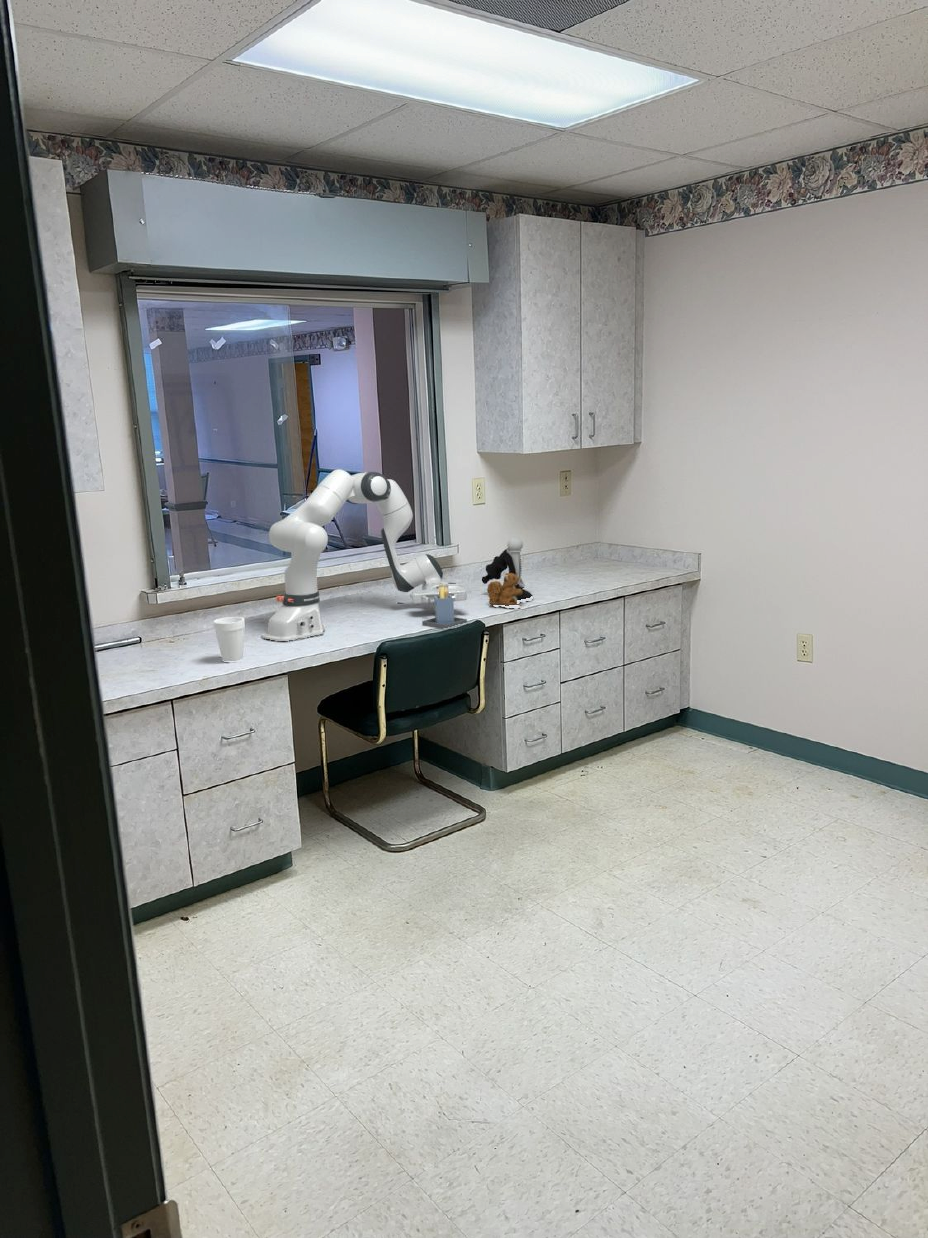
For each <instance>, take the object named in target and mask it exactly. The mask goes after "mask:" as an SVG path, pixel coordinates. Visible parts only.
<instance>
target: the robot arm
mask: <svg viewBox="0 0 928 1238" xmlns="http://www.w3.org/2000/svg"><path fill="white" fill-rule="evenodd" d="M346 502H347V503H348V504H353V505H357V504H371V503H375V505H376V506H377V508H378V510H379V513H380V514H381V517H382V521H383V527H382V529H381V530H380V535H381V540H382V545H383V548H384V551H385V555H386V558H387V562H388V565H389V568H390V571H391V579H392V583H393V585H394V587H395V589H397V591H399V592H401V593H402V592H403V593H409V592H411V591H412V592H411V593H410V594H409V597H410V598H411V602H412V603H413V604H416V605H417V604H431V605H434V596H439V585H443V587H444V586H448V591H449V595H451V596H452V597H453V602H460V601H462V602H463V601H467V599H468V596H467V594H468V593H467V589H465V588H464V586H461V585H460V583H457V582H448V581H443V575H444V572H443V570H442V567H441V565H440V564H439V562H438V561H437V559H436V558H435V556H433V555H431V554H428V553H424V554H422V555H421V556H418V557H417V558H415V559H413V560H411V561H408V562H406V563H405V564H404V563H403V564H401V563H400V560H399V557H398V553H397V549H396V545H397V542H398V540H399V538H401V536H402V535H403V534H404V533H405V532H406V531H407V530H408V528H409V527H410V525H411V523H412V521H413V517H414V515H413V510H412V507H411V505H410V502H409V500H408V499H407V497H406V494H405V493H404V492H403V490H402V488H401V487H400V485H399V484H398V483H397V482H396V481H395V480H393V479H388V478H387V477H386V476H385V475H383V473H380V472H377V471H369V472H359V473H355V474H350V473H349V472H347V471H346V470H343V469H339V468H338V469H335V470H333V471H332V472H330V473H329V474H327V476H325V477H324V478H323V480H321V481H320V483H319V484H318V485H317V487H316V488H315V489H314V490H313V491H312V492H311V494H309V496H308V497H307V499H306V500H305V501H304V502H303V503H302V504H300V506H298V507H297V508H296V509H294V510H293V511H292V512H291V513H290V514H288V516H286V517H285V518H283V519H281V520H280V521H277V522H275V523H273V524H272V525H271V527H270V529H269V531H268V539H269V542H270V544H271V545H272V546H273V547H275V548H276V549H277V550H280V551H282V552H286V553H290V554H291V556H290V561H289V565H288V566H287V567H286V568H285V570H284V574H283V575H284V587H285V593H284V596H283V595H282V596H281V595H277V596H276V600H277V602H280V603H282V604H281V606H280V607H279V608H278V609H277V611H275V613H273V615H272V616H271V617H270V618H269V620H268V621H267V622H268V624H267V631H266V632H264V633H262V634H261V638H262V639H264V638H267V639H270V640H269V641H271V640H275V641H274V642H277V641H288V642H290V641H289V640H293V639H298V638H304V639H308V638H307V637H309V638H311V637H310V636H314V635H319V634H323V635H324V633H325V631H326V627H325V625H324V622H323V619H322V614H321V609H320V599H321V598H320V592H319V591H320V590H319V589H318V577H317V576H318V565H319V561H320V556H321V554H322V552H324V550H325V549H326V548H327V545H328V542H329V537H328V536H329V535H328V533H327V531H326V530H325V528H324V526H326V525H328V524H330V522H331V521H332V520H333V519H334V518H335V516H336V515H337V514H338V512H340V510H341V508H342V507H343V506H344V505H345V503H346ZM419 586H421V589H422V590H420V589H419V590H414V589H415V588H417V587H419ZM324 630H325V631H324ZM323 631H324V632H323ZM319 636H320V635H319ZM314 637H315V636H314ZM298 640H299V639H298ZM293 641H294V640H293Z"/></svg>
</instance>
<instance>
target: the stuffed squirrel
mask: <svg viewBox="0 0 928 1238" xmlns="http://www.w3.org/2000/svg"><path fill="white" fill-rule="evenodd" d="M517 584H519V577H518V576H517V575H515V574H513V573H509V572H505V575H504V577H503V583H501V582H500V581H497V580H495V581H491V582H490V581H489V584H488V585H487V589H486V590H487V593H488V596H487V597H488V598H489V599H488V600H489V601H488V603H489V604H490V606H491V605H505V606H509V605H520V604H517V597H516V595H521V594H522V593H523V591H522V590H521V589H517V588H515V585H517Z"/></svg>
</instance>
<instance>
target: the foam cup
mask: <svg viewBox="0 0 928 1238" xmlns="http://www.w3.org/2000/svg"><path fill="white" fill-rule="evenodd" d="M245 623H246V621H245V618H244V617H241V616H228V617H227V616H226V617H220V618H217V619H215V620H213V629H214V630H215V635H216V638H217V643H218V649H219V652H220V655H221V657H220V658H221V660H222V661H223V660H224V661H237V660H240V659H242V658H243V659H244V647H245V645H244V643H245V628H246V624H245Z"/></svg>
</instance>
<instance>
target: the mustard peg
mask: <svg viewBox="0 0 928 1238" xmlns="http://www.w3.org/2000/svg"><path fill="white" fill-rule="evenodd" d="M440 598H444V587H440Z"/></svg>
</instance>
